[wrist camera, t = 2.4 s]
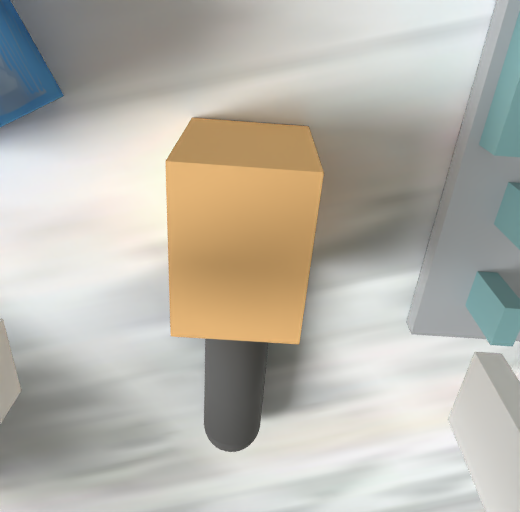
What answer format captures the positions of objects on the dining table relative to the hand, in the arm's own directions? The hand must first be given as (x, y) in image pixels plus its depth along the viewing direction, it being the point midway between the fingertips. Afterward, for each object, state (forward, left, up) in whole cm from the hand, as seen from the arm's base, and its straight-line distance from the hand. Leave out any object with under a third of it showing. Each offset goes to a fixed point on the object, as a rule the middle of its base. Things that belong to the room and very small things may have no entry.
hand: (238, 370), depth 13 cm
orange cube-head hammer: (-4, 0, -10) cm, 11 cm away
